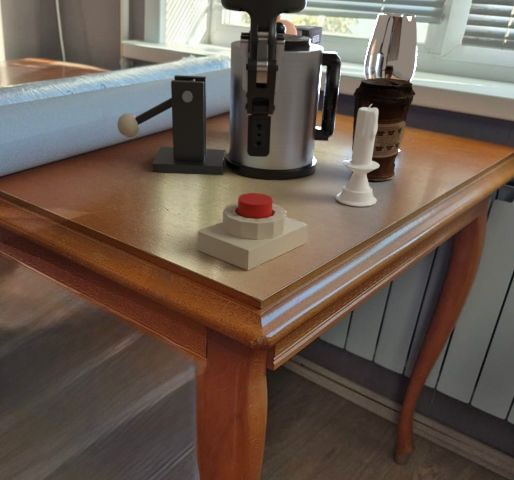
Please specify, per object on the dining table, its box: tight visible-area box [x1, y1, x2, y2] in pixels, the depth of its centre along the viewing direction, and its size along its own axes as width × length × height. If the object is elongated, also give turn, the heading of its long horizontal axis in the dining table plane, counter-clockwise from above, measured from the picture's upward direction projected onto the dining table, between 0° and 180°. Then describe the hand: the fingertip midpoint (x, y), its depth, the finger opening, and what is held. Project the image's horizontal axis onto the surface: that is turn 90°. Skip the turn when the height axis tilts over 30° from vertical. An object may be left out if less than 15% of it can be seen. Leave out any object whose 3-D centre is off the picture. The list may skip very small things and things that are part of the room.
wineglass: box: [363, 12, 418, 155], centre depth 96 cm, size 8×8×20 cm
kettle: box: [225, 22, 342, 181], centre depth 86 cm, size 16×14×19 cm
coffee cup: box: [350, 78, 416, 181], centre depth 86 cm, size 9×8×13 cm
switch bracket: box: [151, 74, 226, 176], centre depth 87 cm, size 10×9×12 cm
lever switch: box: [116, 79, 195, 138], centre depth 86 cm, size 13×3×3 cm, turn 91°
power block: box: [197, 201, 309, 272], centre depth 65 cm, size 10×7×4 cm
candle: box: [335, 104, 380, 208], centre depth 77 cm, size 5×5×12 cm
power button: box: [237, 192, 274, 219], centre depth 63 cm, size 4×4×2 cm
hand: (258, 154), depth 60 cm, fingers closed
